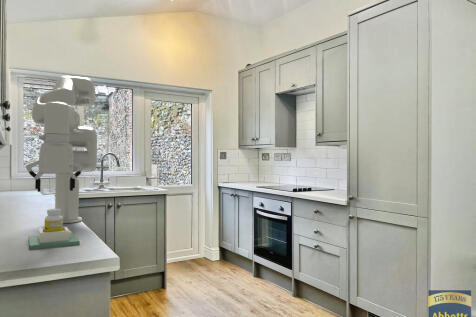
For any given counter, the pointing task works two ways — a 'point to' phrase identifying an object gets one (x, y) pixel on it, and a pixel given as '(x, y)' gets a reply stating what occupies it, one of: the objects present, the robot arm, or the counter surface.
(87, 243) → the counter surface
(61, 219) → the supplement bottle
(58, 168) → the robot arm
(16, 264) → the counter surface
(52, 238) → the board
